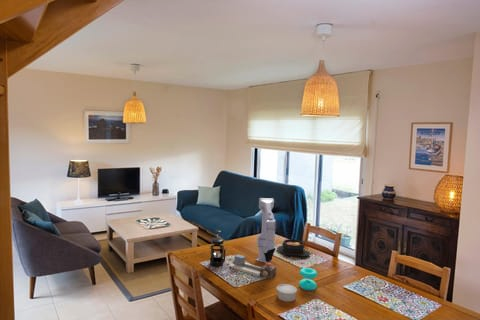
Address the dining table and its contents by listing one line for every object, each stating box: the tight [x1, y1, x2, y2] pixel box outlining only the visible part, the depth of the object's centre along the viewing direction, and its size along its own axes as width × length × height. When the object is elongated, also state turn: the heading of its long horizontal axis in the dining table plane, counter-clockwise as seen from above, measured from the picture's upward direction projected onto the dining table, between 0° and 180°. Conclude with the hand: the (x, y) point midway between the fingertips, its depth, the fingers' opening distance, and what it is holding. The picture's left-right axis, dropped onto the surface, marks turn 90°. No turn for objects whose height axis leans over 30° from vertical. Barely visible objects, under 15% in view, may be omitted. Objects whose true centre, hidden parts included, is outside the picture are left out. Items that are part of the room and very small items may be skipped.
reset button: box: [264, 262, 273, 269], centre depth 205 cm, size 4×4×5 cm
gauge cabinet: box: [259, 264, 277, 280], centre depth 205 cm, size 8×7×5 cm
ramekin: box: [275, 283, 298, 303], centre depth 178 cm, size 11×11×5 cm
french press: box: [209, 229, 227, 268], centre depth 218 cm, size 12×9×23 cm
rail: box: [228, 259, 262, 277], centre depth 213 cm, size 10×22×3 cm, turn 58°
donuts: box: [298, 267, 318, 291], centre depth 191 cm, size 10×10×10 cm
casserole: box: [276, 238, 311, 257], centre depth 245 cm, size 25×19×8 cm
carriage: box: [233, 253, 247, 266], centre depth 216 cm, size 4×6×5 cm, turn 58°
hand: (268, 260), depth 204 cm, fingers open, 3 cm apart
